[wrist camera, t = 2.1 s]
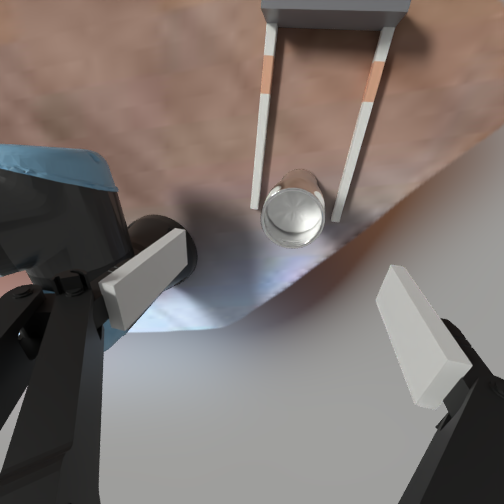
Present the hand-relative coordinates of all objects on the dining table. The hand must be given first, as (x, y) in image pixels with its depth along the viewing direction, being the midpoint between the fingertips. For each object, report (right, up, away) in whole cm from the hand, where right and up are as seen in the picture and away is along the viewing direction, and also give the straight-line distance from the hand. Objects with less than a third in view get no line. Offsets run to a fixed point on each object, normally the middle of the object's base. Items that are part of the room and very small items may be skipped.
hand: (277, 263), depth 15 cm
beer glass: (+6, +11, +22) cm, 25 cm away
